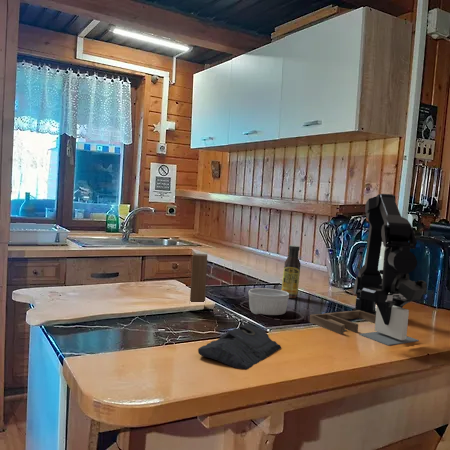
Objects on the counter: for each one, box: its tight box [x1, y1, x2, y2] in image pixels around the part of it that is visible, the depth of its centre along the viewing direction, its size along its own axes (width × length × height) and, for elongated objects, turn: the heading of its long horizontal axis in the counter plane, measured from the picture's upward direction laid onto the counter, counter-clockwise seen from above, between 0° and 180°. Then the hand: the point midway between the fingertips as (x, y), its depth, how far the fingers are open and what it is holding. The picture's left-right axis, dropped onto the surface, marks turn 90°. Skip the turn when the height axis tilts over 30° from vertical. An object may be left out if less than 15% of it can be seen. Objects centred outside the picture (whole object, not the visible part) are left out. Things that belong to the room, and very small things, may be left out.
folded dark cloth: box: [197, 322, 282, 370], centre depth 111 cm, size 15×22×5 cm
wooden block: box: [189, 252, 208, 302], centre depth 150 cm, size 9×4×18 cm, turn 0°
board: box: [374, 305, 410, 340], centre depth 126 cm, size 2×9×8 cm, turn 30°
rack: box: [309, 310, 376, 335], centre depth 138 cm, size 20×13×3 cm, turn 120°
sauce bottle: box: [281, 244, 301, 299], centre depth 177 cm, size 6×6×20 cm
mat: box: [358, 331, 420, 347], centre depth 127 cm, size 12×10×1 cm
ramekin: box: [248, 287, 290, 316], centre depth 150 cm, size 13×13×7 cm
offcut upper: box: [328, 319, 346, 330], centre depth 134 cm, size 3×6×2 cm, turn 28°
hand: (389, 324), depth 127 cm, fingers closed on board, 2 cm apart
